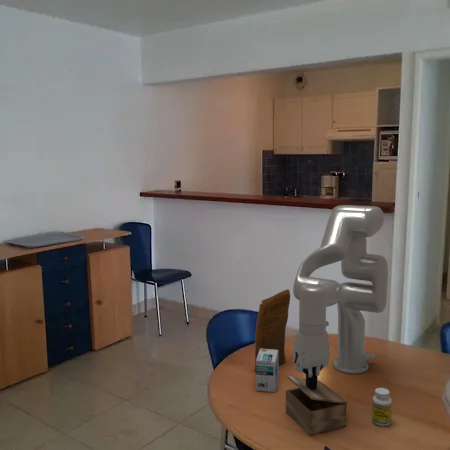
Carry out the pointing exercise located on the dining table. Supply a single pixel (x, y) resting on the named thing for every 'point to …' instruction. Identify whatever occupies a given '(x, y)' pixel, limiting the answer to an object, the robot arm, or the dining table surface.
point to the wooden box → (314, 412)
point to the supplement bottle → (382, 407)
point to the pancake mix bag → (272, 324)
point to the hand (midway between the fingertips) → (311, 387)
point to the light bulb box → (267, 370)
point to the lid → (317, 391)
